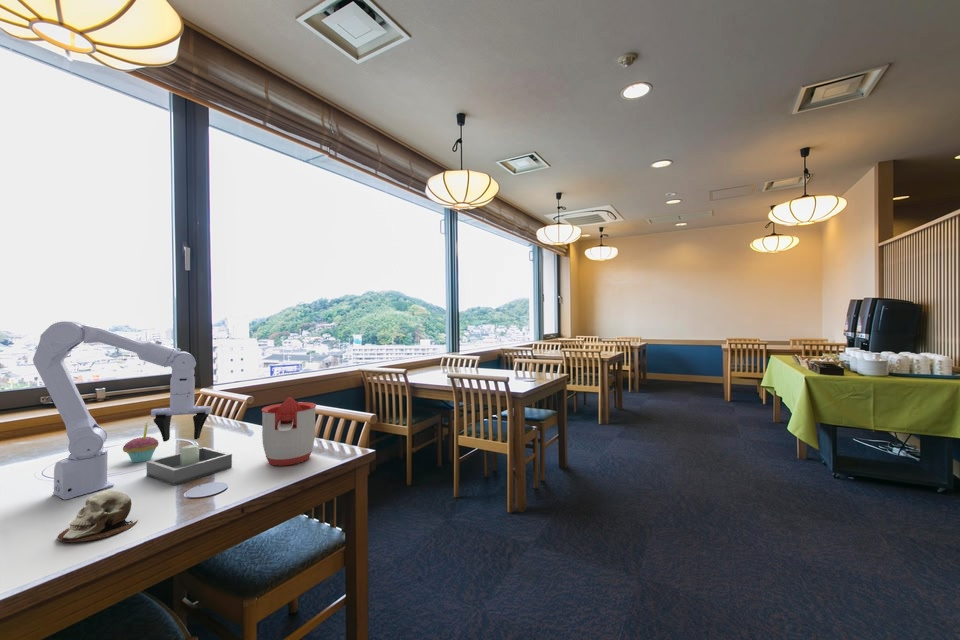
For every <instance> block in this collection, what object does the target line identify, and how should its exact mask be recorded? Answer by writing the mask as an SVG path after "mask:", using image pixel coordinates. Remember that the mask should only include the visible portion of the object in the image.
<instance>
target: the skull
mask: <svg viewBox="0 0 960 640" xmlns="http://www.w3.org/2000/svg"><path fill="white" fill-rule="evenodd" d="M84 504H85V506H82V508H81V509H80V510H79V511H78V513H77V515H76V517H75V518H74V519H73V520H72V521H71V522H70V523H69V528H66V529H65V530H63V531H62V532H60V533H59V534H58V535H57V539H58V540H59V541H60V542H64V543H76V542H79V543H80V542H87V541H92V540H95V541H96V540H97V541H98V540H100V539H102V538H107V537H108V538H110V537H111V536H113V535H116V534H119V533H121V532H124V531H126V530H129V529H131V527H134V526H135V525H136V524H137V523H138V521H139V520H138V519H137V520H135V521H133V520H129V521H127V518H128V516H129V514H130V512H131V510H132V499H131V497H130V496H129V495H128V494H126V493H124V492H122V491H117V490H110V489H108V490H102V491H99V492H97V493H95V494H94V495H92V496H90V497H89V498H88V499H87V500H86V501H85V503H84Z"/></svg>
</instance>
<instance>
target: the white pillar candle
mask: <svg viewBox="0 0 960 640" xmlns="http://www.w3.org/2000/svg"><path fill="white" fill-rule="evenodd" d="M199 448H200V445H199V444H191V445H190V444H189V445H185V446H182V447H180V449H179V450H180V468H181V467H184V466H188V465H192V464H195V463H199Z"/></svg>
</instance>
